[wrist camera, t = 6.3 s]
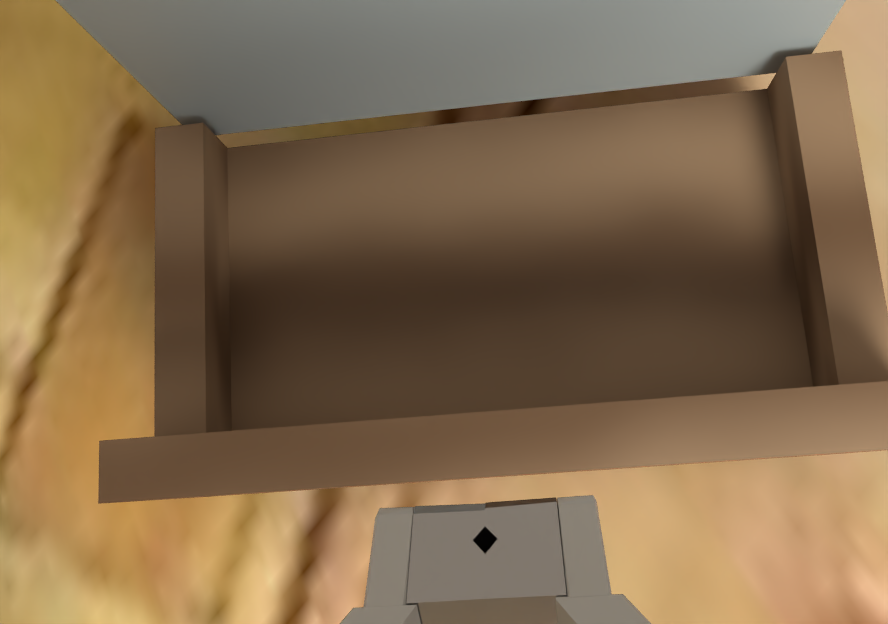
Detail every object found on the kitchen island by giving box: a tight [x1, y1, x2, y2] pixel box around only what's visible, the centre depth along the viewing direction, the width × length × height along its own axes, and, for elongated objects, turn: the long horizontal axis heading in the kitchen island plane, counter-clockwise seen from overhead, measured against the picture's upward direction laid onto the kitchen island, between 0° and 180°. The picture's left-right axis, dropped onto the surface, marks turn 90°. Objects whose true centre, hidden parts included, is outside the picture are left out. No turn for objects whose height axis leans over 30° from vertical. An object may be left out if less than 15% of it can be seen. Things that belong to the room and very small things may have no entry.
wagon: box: [98, 51, 888, 504], centre depth 25 cm, size 11×20×10 cm, turn 94°
